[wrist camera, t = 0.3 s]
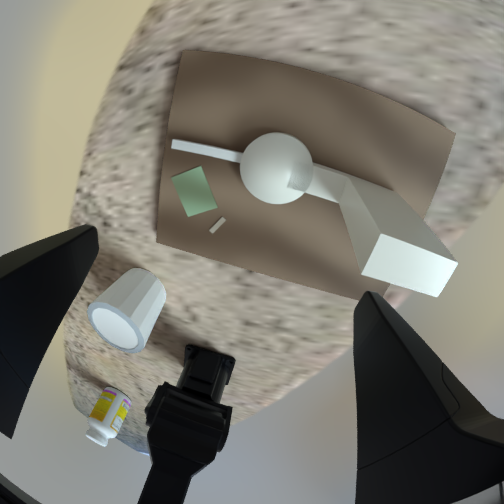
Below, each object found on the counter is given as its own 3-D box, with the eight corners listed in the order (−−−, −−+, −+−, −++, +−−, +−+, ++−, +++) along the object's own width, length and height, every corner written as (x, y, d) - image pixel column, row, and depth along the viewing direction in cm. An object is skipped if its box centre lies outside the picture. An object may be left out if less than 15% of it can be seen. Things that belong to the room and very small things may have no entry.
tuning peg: (380, 232, 20) (421, 319, 11) (171, 172, 21) (90, 225, 12) (404, 175, 17) (473, 234, 9) (180, 111, 18) (90, 125, 9)
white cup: (111, 279, 30) (78, 317, 24) (138, 251, 27) (101, 291, 21) (150, 318, 32) (125, 360, 26) (183, 297, 29) (157, 344, 23)
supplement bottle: (102, 388, 49) (77, 431, 38) (110, 383, 46) (84, 431, 35) (126, 405, 50) (104, 448, 39) (136, 401, 47) (113, 449, 36)
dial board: (375, 297, 25) (377, 306, 24) (161, 236, 26) (155, 242, 24) (448, 131, 16) (456, 133, 15) (188, 52, 17) (182, 49, 16)
